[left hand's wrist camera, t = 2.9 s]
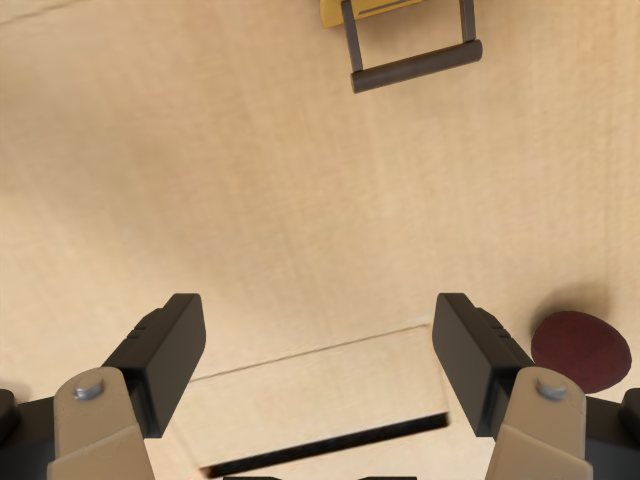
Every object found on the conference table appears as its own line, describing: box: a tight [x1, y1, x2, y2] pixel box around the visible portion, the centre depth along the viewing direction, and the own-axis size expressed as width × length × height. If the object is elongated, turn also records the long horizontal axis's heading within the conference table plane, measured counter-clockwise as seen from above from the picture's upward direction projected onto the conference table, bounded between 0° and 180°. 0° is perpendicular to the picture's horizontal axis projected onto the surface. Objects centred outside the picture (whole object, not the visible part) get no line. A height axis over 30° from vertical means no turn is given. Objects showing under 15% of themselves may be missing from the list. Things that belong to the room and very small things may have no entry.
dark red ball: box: [531, 311, 632, 394], centre depth 33 cm, size 7×8×7 cm
